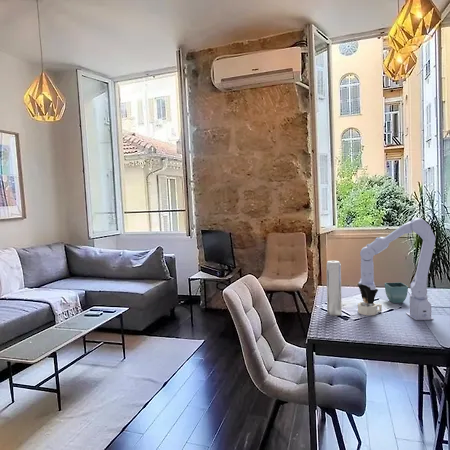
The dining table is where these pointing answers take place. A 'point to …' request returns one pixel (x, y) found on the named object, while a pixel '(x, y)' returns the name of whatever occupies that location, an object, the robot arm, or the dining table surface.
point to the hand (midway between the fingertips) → (367, 301)
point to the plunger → (366, 302)
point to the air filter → (334, 288)
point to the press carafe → (369, 309)
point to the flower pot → (396, 292)
